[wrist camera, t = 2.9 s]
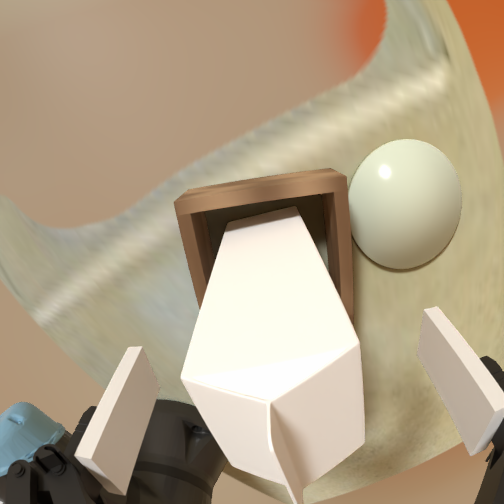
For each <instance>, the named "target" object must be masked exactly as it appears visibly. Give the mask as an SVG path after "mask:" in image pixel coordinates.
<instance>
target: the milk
mask: <svg viewBox="0 0 504 504" xmlns="http://www.w3.org/2000/svg"><path fill="white" fill-rule="evenodd" d="M181 380H182V382H183V384H184V386H185V388H186V389H187V391H188V393H189V395H190V397H191V399H192V400H193V402H194V404H195V406H196V407H197V409H198V411H199V413H200V414H201V416H202V418H203V420H204V421H205V423H206V425H207V427H208V428H209V430H210V432H211V433H212V435H213V437H214V438H215V440H216V441H217V443H218V445H219V446H220V448H221V450H222V451H223V453H224V454H225V456H226V457H227V459H228V461H229V462H230V464H231V465H232V466H233V467H235V468H238V469H240V470H243V471H245V472H248V473H251V474H253V475H256V476H259V477H262V478H264V479H267V480H270V481H273V482H276V483H279V484H282V485H285V486H286V488H287V490H288V492H289V494H290V496H291V498H292V501H293V503H294V504H304V503H303V489H304V488H305V487H307V486H308V485H310V484H311V483H313V482H314V481H315V480H317V479H318V478H320V477H321V476H323V475H324V474H325V473H327V472H328V471H330V470H331V469H332V468H334V467H335V466H336V465H338V464H339V463H340V462H342V461H343V460H344V459H346V458H347V457H348V456H349V455H351V454H352V453H353V452H355V451H356V450H357V449H358V448H359V447H361V446H362V445H363V444H364V443H365V413H364V392H363V375H362V361H361V349H360V342H359V339H358V337H357V335H356V332H355V330H354V328H353V325H352V323H351V321H350V319H349V316H348V314H347V312H346V310H345V308H344V305H343V303H342V301H341V299H340V297H339V294H338V292H337V290H336V288H335V286H334V284H333V281H332V279H331V277H330V275H329V273H328V271H327V269H326V267H325V265H324V262H323V260H322V258H321V256H320V254H319V252H318V250H317V248H316V246H315V244H314V242H313V240H312V238H311V236H310V234H309V232H308V230H307V228H306V226H305V224H304V222H303V220H302V218H301V216H300V214H299V212H298V210H297V208H296V206H292V207H288V208H284V209H280V210H276V211H272V212H267V213H263V214H259V215H255V216H251V217H247V218H243V219H239V220H235V221H231V222H228V223H227V226H226V229H225V232H224V236H223V239H222V242H221V245H220V248H219V251H218V254H217V257H216V261H215V264H214V267H213V270H212V273H211V276H210V280H209V283H208V286H207V289H206V292H205V296H204V299H203V302H202V306H201V309H200V312H199V315H198V319H197V322H196V325H195V329H194V332H193V335H192V339H191V342H190V346H189V349H188V352H187V356H186V359H185V363H184V366H183V370H182V373H181Z"/></svg>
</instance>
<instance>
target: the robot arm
mask: <svg viewBox="0 0 504 504" xmlns="http://www.w3.org/2000/svg"><path fill="white" fill-rule="evenodd" d="M417 356H418V358H419V360H420V361H421V363H422V365H423V367H424V368H425V370H426V372H427V374H428V376H429V377H430V379H431V381H432V383H433V384H434V386H435V388H436V390H437V392H438V394H439V395H440V397H441V399H442V401H443V403H444V405H445V407H446V409H447V410H448V412H449V414H450V416H451V418H452V420H453V422H454V424H455V426H456V428H457V430H458V432H459V434H460V436H461V438H462V440H463V442H464V444H465V446H466V448H467V450H468V452H469V455H470V456H472V455H474V454H476V453H479V452H481V451H483V450H485V449H486V448H487V447H488V445H489V443H490V442H491V441H492V443H493V444H494V448H493V449H492V451H491V453H490V454H489V456H488V457H487V459H486V462H488V460H489V459H490V460H489V463H488V466H487V470H486V473H485V476H484V479H483V481H482V484H481V488H480V490H479V493H478V495H477V498H476V501H475V503H474V504H504V371H502V369H501V367H500V366H499V365H498V364H497V362H496V361H494V360H493V359H491V358H490V357H488V356H484V357H482V358H478V356H477V355H476V354H475V352H474V351H473V350H472V348H471V347H470V346H469V345H468V343H467V342H466V341H465V340H464V338H463V337H462V336H461V335H460V333H459V332H458V331H457V330H456V328H455V327H454V326H453V325H452V323H451V322H450V321H449V320H448V319H447V317H446V316H445V315H444V314H443V313H442V311H441V310H440V309H439V308H438V307H432V308H428V309H424V310H423V318H422V325H421V332H420V339H419V345H418V351H417ZM159 390H160V386H159V384H158V381H157V379H156V377H155V375H154V373H153V370H152V368H151V366H150V363H149V361H148V359H147V356H146V354H145V352H144V349H143V347H128V349H127V351H126V353H125V355H124V356H123V358H122V360H121V362H120V364H119V366H118V368H117V370H116V371H115V373H114V375H113V377H112V379H111V381H110V383H109V385H108V387H107V389H106V391H105V393H104V395H103V397H102V399H101V401H100V403H99V405H98V407H97V406H91V407H90V408H89V409H88V410H87V411H86V412H84V413H83V415H82V417H81V419H80V421H79V424H78V425H77V427H76V429H75V432H74V433H73V435H72V434H70V433H69V432H68V431H66V430H65V428H64V427H63V426H62V425H61V424H60V423H56V422H55V421H53V420H52V419H51V418H49V417H48V416H47V415H46V414H44V413H43V412H42V411H40V410H39V409H38V408H37V407H35V406H34V405H32V404H30V403H27V402H19V403H16V404H14V405H12V406H11V407H10V408H8V409H7V410H6V411H5V412H4V413H2V414H1V415H0V504H211V499H212V491H213V487H214V485H215V483H216V481H217V480H218V478H219V476H220V474H221V472H222V470H223V468H224V467H225V465H226V463H227V461H228V459H227V457H226V456H225V454H224V453H223V451H222V450H221V448H220V446H219V445H218V443H217V441H216V440H215V438H214V437H213V435H212V433H211V432H210V430H209V428H208V427H207V425H206V423H205V421H204V420H203V418H202V416H201V414H200V413H199V411H198V409H197V407H194V406H191V405H188V404H185V403H181V402H177V401H171V400H158V399H157V396H158V393H159Z"/></svg>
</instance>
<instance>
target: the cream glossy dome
mask: <svg viewBox="0 0 504 504" xmlns="http://www.w3.org/2000/svg"><path fill="white" fill-rule="evenodd" d="M348 199H349V211H350V225H351V234H352V236H353V238H354V240H355V241H356V243H357V245H358V246H359V247H360V248H361V250H362V251H363V252H364V253H365V254H366V255H367V256H368V257H369V258H370V259H372V260H373V261H375V262H376V263H378V264H380V265H382V266H385V267H388V268H394V269H407V268H413V267H417V266H419V265H422V264H424V263H426V262H428V261H430V260H431V259H432V258H434V257H435V256H437V255H438V254H439V253H440V252H441V251H442V250H443V249H444V248H445V246H446V245H447V244H448V242H449V241H450V240H451V238H452V236H453V234H454V232H455V230H456V228H457V225H458V222H459V219H460V215H461V209H462V191H461V185H460V182H459V178H458V175H457V173H456V171H455V169H454V167H453V165H452V163H451V162H450V161H449V159H448V158H447V157H446V156H445V155H444V154H443V153H442V152H441V151H440V150H438V149H437V148H436V147H434V146H432V145H430V144H428V143H426V142H423V141H419V140H413V139H400V140H394V141H391V142H387V143H385V144H383V145H381V146H379V147H378V148H376V149H375V150H373V151H372V152H371V153H370V154H369V155H367V156H366V158H365V159H364V160H363V161H362V162H361V164H360V165H359V166H358V168H357V169H356V171H355V173H354V175H353V177H352V180H351V183H350V185H349V189H348Z"/></svg>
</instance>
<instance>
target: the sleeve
mask: <svg viewBox="0 0 504 504" xmlns="http://www.w3.org/2000/svg"><path fill="white" fill-rule="evenodd" d="M315 194H322V200H323V210H324V220H325V231H326V242H327V255H328V268H329V275H330V277H331V279H332V281H333V284H334V286H335V288H336V290H337V292H338V294H339V297H340V299H341V301H342V303H343V305H344V308H345V310H346V312H347V314H348V316H349V319H350V321H351V323H352V325H354V301H353V263H352V242H351V225H350V211H349V199H348V188H347V177H346V176H345V175H343V174H341V173H339V172H337V171H335V170H333V169H331V168H329V169H320V170H312V171H304V172H296V173H289V174H281V175H274V176H267V177H260V178H254V179H247V180H241V181H235V182H229V183H223V184H217V185H211V186H206V187H200V188H195V189H189V190H187V191H186V192H185V193H184V194H183V195H181V196H180V197H179V198H178V199H177V200H175V201H174V206H175V211H176V215H177V220H178V224H179V228H180V233H181V237H182V241H183V246H184V250H185V254H186V258H187V262H188V266H189V270H190V274H191V278H192V282H193V286H194V290H195V294H196V297H197V301H198V305H199V309H201V306H202V302H203V299H204V296H205V292H206V289H207V286H208V283H209V280H210V276H211V273H212V270H213V267H214V264H215V260H214V255H213V250H212V246H211V241H210V236H209V231H208V226H207V222H206V217H205V212H204V211H207V210H213V209H219V208H226V207H232V206H238V205H245V204H251V203H258V202H264V201H271V200H278V199H285V198H292V197H300V196H307V195H315Z"/></svg>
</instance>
